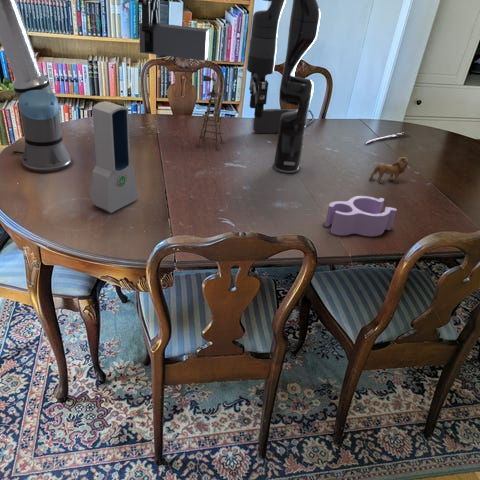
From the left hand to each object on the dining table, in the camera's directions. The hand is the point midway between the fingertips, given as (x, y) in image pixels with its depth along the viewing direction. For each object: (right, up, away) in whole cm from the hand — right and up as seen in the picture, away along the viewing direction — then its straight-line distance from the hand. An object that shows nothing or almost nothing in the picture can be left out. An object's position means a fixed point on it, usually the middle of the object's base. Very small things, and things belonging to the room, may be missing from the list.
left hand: (151, 50), depth 166 cm
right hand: (+36, -30, -30) cm, 56 cm away
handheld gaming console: (+48, -20, +42) cm, 67 cm away
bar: (+8, -2, 0) cm, 8 cm away
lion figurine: (+86, -45, +8) cm, 98 cm away
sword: (+99, -21, +48) cm, 112 cm away
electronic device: (-6, -56, -24) cm, 62 cm away
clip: (+67, -63, -23) cm, 95 cm away
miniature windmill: (+19, -29, +22) cm, 41 cm away
